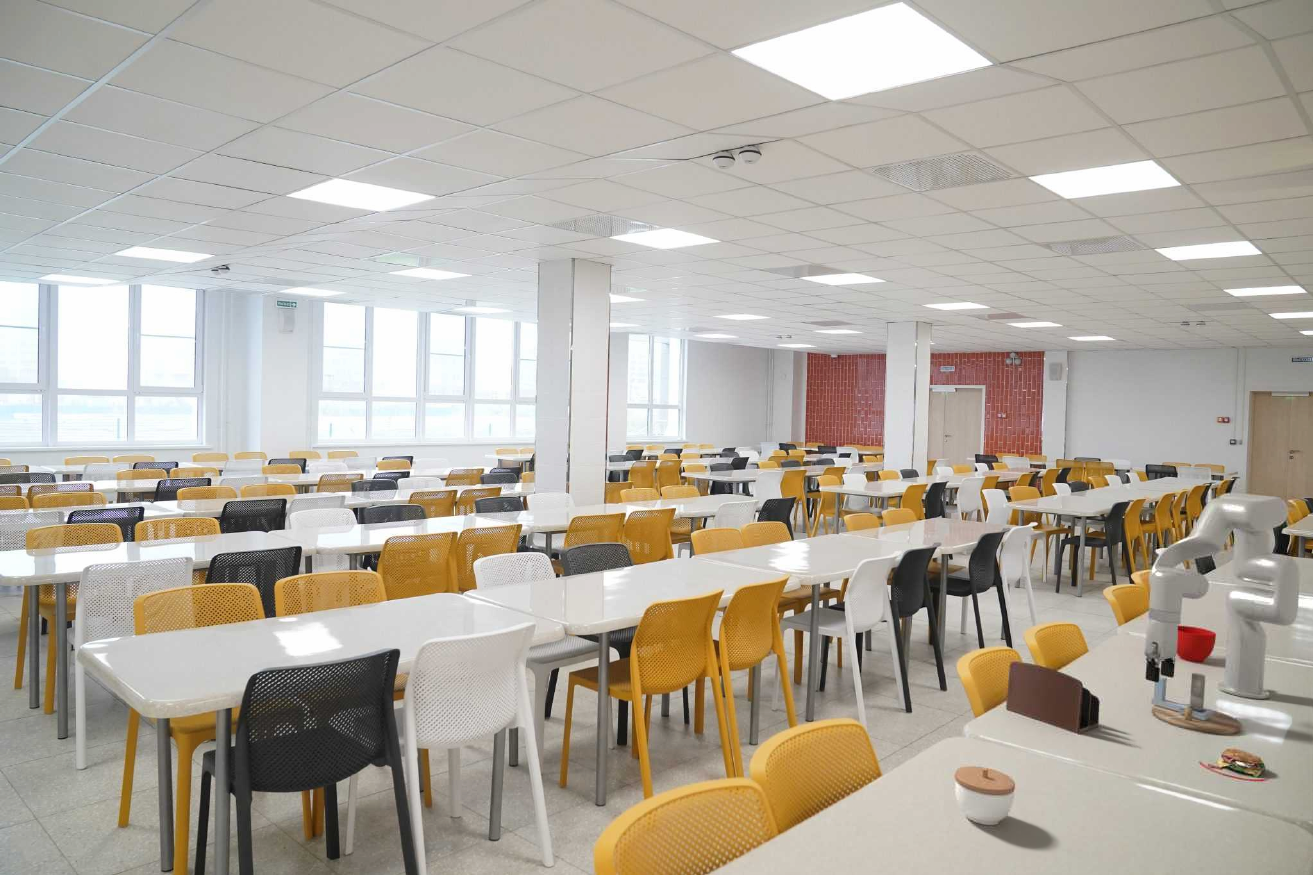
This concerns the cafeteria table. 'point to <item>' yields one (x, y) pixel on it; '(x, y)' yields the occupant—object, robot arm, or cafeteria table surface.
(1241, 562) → the robot arm
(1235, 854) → the cafeteria table surface
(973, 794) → the lidded jar
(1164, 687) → the blue square ring handle
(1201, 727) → the post base
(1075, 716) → the letter holder
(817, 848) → the cafeteria table surface
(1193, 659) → the red bowl
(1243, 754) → the hamburger
